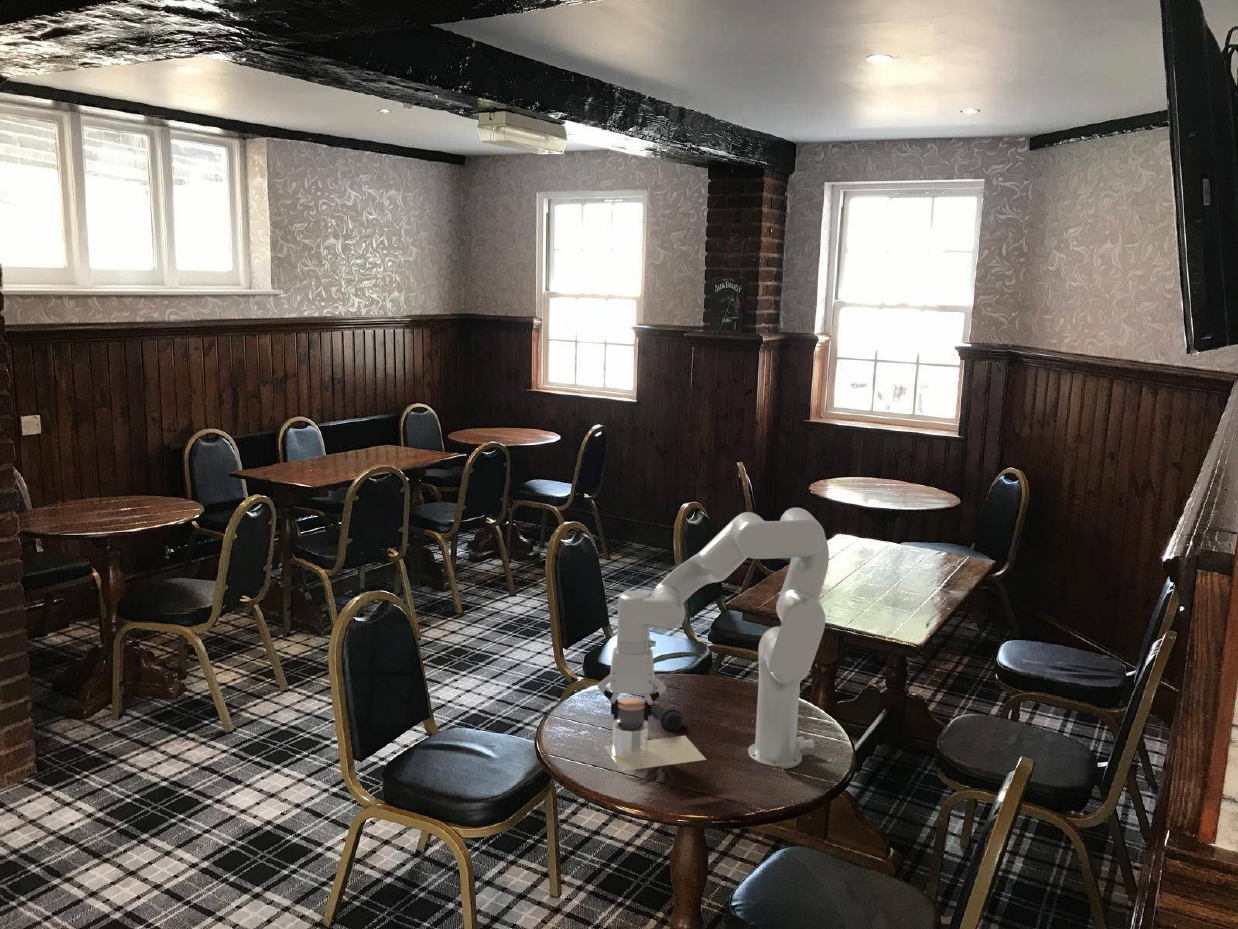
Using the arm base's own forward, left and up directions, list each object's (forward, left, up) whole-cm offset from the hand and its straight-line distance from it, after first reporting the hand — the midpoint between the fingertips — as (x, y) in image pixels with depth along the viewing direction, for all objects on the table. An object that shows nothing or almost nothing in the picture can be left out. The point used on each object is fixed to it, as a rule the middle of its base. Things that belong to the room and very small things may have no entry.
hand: (630, 717), depth 231 cm
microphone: (-15, -17, -10) cm, 25 cm away
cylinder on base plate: (-5, +2, -10) cm, 11 cm away
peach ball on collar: (0, 0, -4) cm, 4 cm away
